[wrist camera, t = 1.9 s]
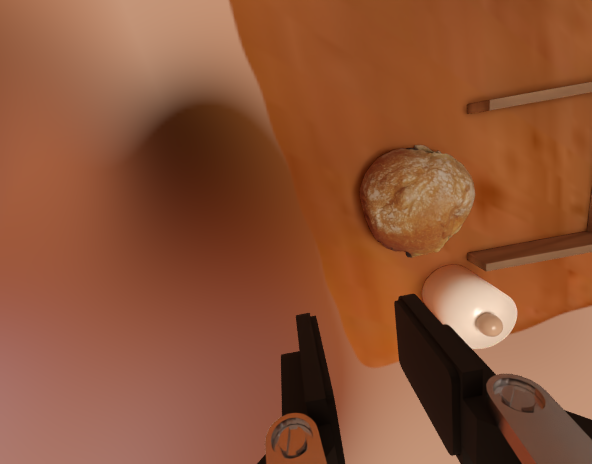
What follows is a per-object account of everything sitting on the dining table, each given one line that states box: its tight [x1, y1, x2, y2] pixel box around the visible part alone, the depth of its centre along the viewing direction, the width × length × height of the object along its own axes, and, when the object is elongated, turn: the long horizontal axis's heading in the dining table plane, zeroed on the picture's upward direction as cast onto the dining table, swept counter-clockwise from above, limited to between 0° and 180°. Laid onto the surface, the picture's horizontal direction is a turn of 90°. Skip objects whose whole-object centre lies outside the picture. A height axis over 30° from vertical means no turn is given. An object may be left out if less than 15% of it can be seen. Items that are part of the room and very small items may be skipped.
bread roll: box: [360, 145, 475, 258], centre depth 28 cm, size 10×10×8 cm
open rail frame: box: [467, 82, 592, 271], centre depth 28 cm, size 16×14×3 cm
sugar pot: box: [422, 265, 517, 349], centre depth 29 cm, size 6×6×8 cm
